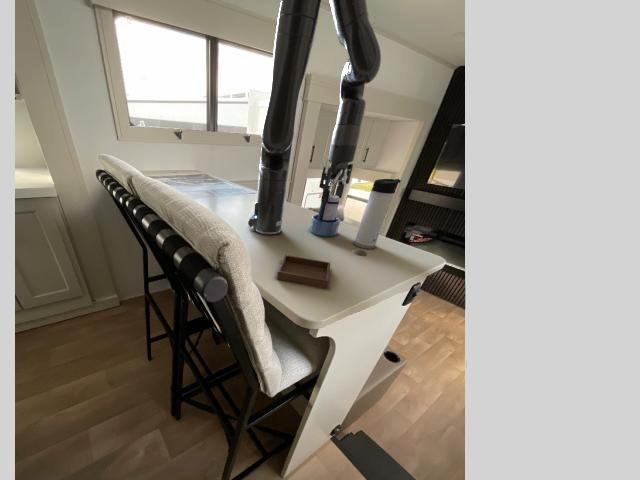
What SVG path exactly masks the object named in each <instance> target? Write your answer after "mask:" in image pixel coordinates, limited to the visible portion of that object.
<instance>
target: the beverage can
mask: <svg viewBox="0 0 640 480" xmlns="http://www.w3.org/2000/svg"><path fill="white" fill-rule="evenodd" d="M339 203H340V199H339V196H336V195H335V194H330V195H329V200H328V202H327V203H324V202H321V201H320V205H319V210H318V214H317V215H318V219H317V220H318V221H322V222H328V223H334V219H335V217H337V216H336V215H337V211H338V208H339Z"/></svg>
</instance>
